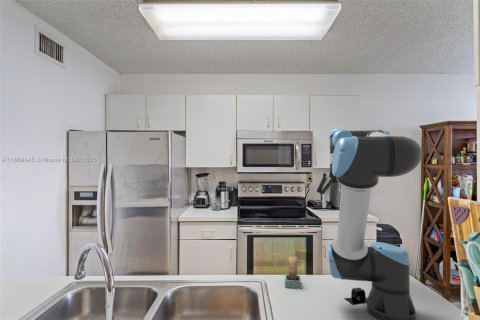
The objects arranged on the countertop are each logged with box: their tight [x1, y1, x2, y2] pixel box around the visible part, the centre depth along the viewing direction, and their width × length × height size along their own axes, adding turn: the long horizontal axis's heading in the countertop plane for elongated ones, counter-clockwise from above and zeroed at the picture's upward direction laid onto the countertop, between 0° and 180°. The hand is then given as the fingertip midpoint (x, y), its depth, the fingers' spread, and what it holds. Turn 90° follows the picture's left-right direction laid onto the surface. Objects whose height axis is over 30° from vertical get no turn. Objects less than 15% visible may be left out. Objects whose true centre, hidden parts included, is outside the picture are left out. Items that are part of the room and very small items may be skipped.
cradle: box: [284, 274, 302, 290], centre depth 118 cm, size 7×7×3 cm
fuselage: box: [288, 255, 298, 281], centre depth 118 cm, size 4×4×12 cm
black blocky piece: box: [343, 287, 368, 306], centre depth 105 cm, size 12×7×5 cm, turn 106°
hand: (338, 209), depth 126 cm, fingers open, 13 cm apart
